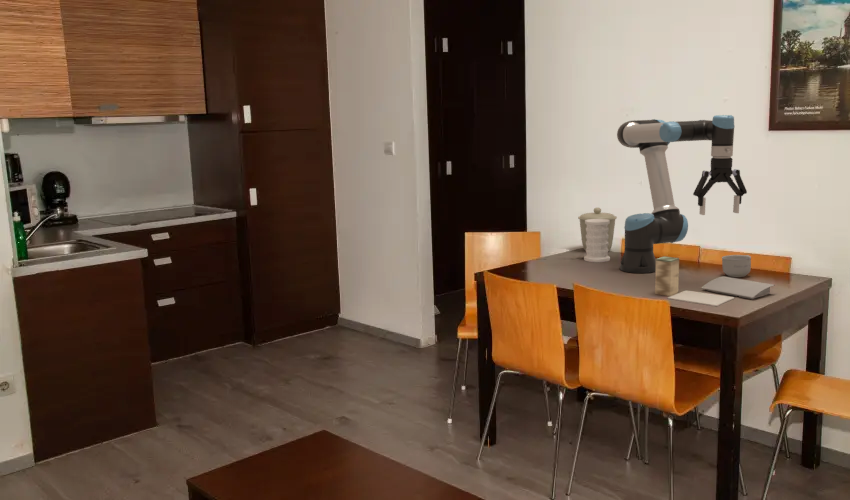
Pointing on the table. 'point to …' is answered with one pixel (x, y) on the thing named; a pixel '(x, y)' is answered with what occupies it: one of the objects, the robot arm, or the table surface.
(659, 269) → the maple block
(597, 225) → the decorative container
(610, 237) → the canister
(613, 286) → the table surface
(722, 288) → the book
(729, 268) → the teacup
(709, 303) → the grey mat
